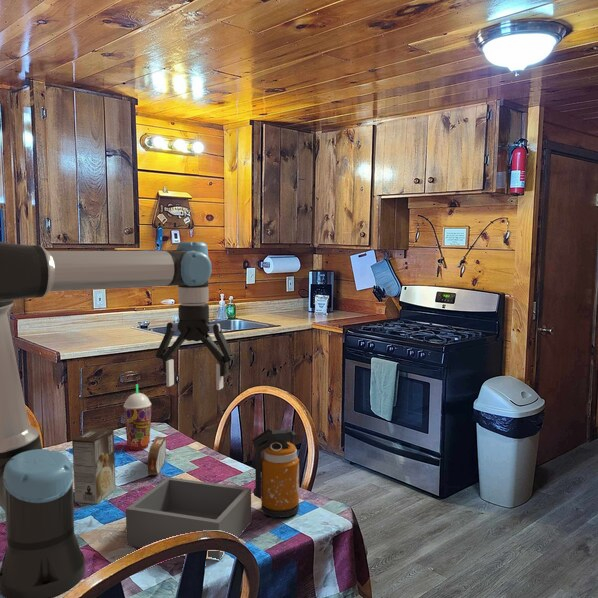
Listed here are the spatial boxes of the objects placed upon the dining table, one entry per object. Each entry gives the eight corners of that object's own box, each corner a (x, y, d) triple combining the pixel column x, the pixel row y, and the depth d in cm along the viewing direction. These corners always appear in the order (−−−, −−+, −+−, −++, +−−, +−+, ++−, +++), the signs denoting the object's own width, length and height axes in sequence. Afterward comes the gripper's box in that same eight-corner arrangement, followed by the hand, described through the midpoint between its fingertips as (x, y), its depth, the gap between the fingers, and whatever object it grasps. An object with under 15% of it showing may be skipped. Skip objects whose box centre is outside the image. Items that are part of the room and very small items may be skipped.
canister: (301, 518, 136) (302, 434, 134) (254, 521, 134) (253, 437, 132) (295, 501, 145) (295, 422, 143) (251, 504, 143) (250, 425, 141)
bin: (219, 561, 118) (219, 523, 117) (126, 545, 124) (125, 508, 123) (251, 521, 134) (251, 488, 133) (168, 509, 140) (167, 477, 140)
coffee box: (93, 487, 153) (92, 427, 151) (116, 489, 152) (114, 429, 150) (73, 502, 144) (71, 439, 142) (97, 504, 143) (95, 441, 141)
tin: (157, 459, 172) (157, 431, 172) (168, 459, 173) (167, 431, 172) (146, 480, 157) (145, 450, 157) (158, 480, 158) (157, 450, 157)
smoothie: (137, 453, 177) (135, 389, 175) (118, 448, 181) (117, 385, 180) (158, 445, 184) (156, 383, 182) (139, 440, 188) (138, 380, 186)
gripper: (245, 303, 147) (246, 386, 149) (155, 301, 153) (157, 380, 155) (235, 306, 139) (236, 394, 141) (140, 303, 145) (142, 387, 148)
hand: (194, 387), depth 148 cm, fingers open, 13 cm apart
